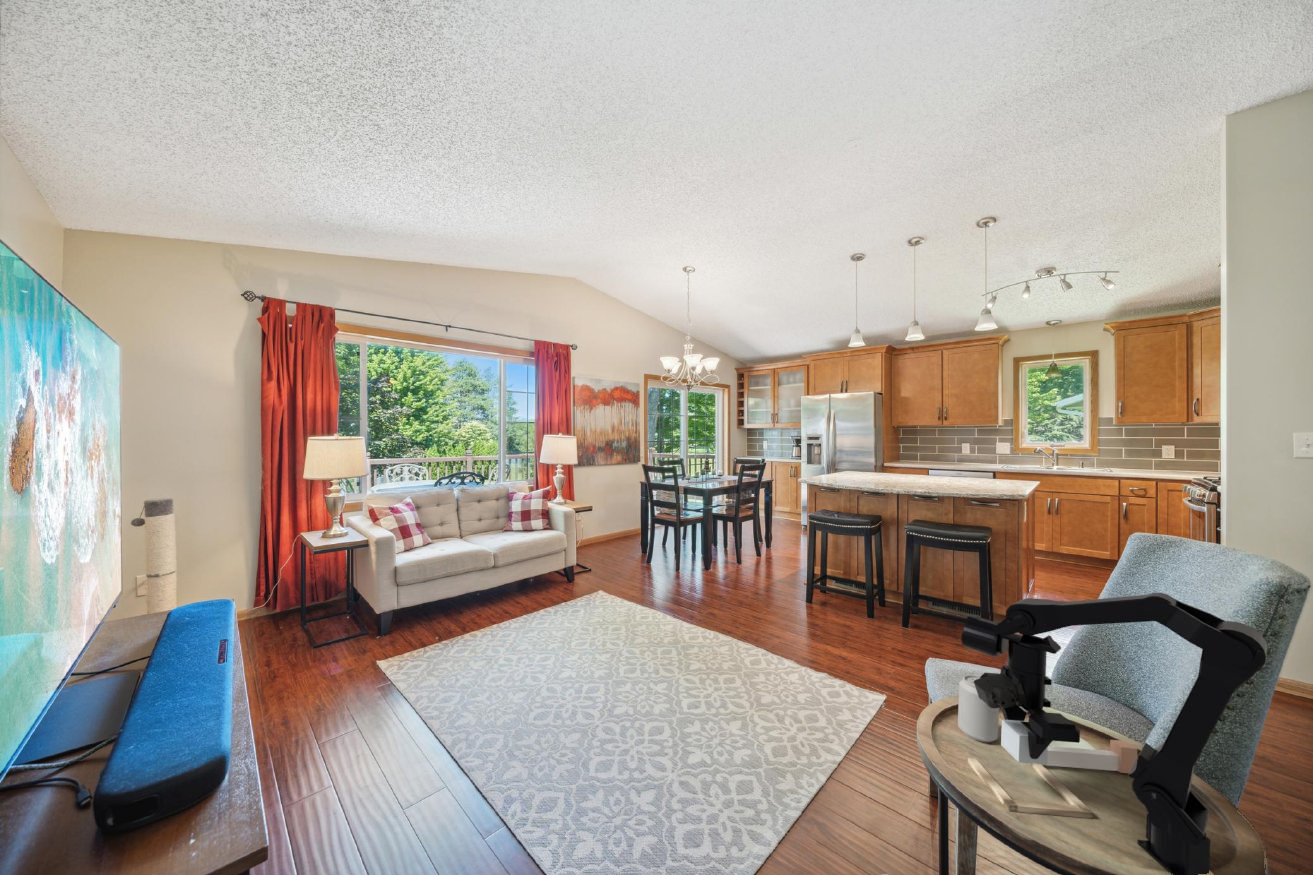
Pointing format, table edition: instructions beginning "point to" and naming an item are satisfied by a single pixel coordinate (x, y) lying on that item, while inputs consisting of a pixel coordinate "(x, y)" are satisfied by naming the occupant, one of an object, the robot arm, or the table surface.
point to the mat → (1072, 744)
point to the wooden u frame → (1071, 810)
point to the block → (1019, 742)
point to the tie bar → (1095, 757)
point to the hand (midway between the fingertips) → (1023, 748)
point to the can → (976, 713)
